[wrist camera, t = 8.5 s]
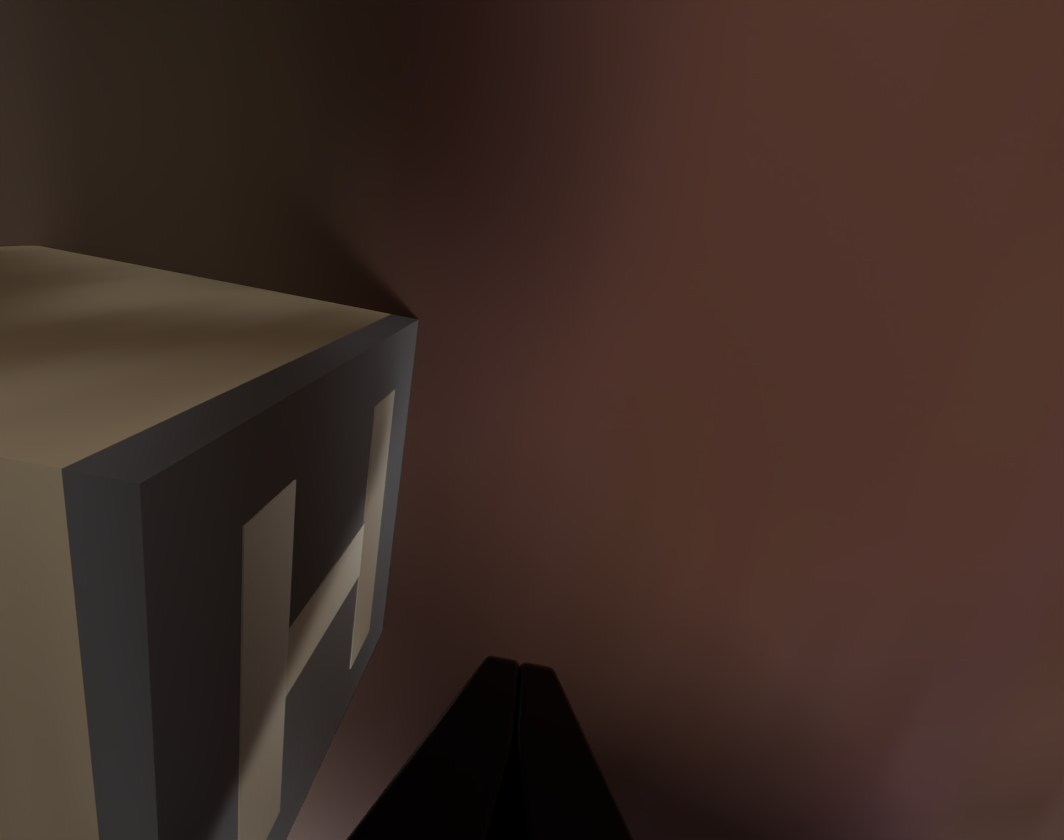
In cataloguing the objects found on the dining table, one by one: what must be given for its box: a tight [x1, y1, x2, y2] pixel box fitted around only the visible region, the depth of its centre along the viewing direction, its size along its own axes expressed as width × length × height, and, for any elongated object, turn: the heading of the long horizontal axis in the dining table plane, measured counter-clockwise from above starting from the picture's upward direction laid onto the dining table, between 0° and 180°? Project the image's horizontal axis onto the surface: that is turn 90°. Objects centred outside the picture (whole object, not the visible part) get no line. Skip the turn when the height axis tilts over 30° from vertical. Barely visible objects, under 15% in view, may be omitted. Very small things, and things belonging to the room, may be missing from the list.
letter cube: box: [0, 246, 419, 840], centre depth 8 cm, size 7×7×7 cm
